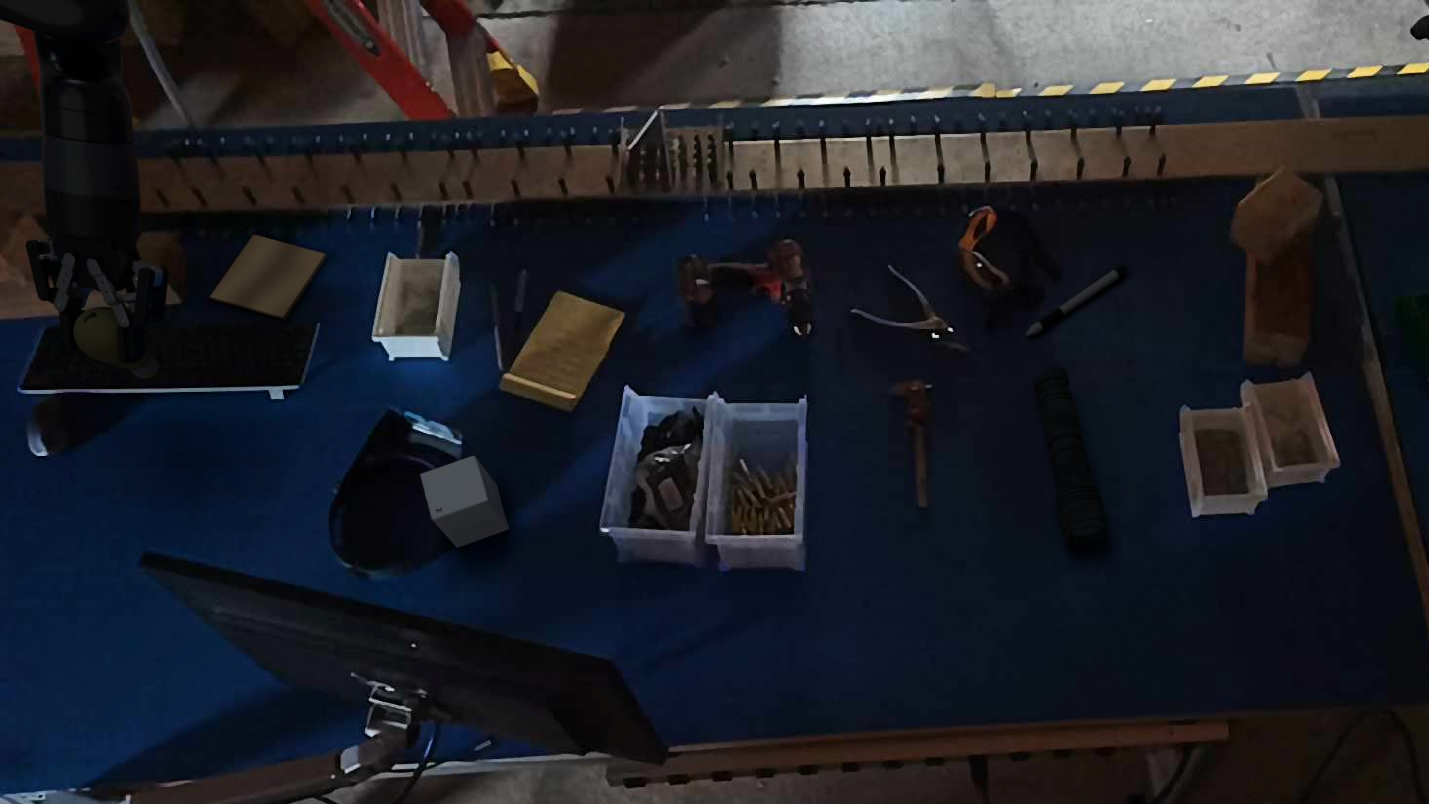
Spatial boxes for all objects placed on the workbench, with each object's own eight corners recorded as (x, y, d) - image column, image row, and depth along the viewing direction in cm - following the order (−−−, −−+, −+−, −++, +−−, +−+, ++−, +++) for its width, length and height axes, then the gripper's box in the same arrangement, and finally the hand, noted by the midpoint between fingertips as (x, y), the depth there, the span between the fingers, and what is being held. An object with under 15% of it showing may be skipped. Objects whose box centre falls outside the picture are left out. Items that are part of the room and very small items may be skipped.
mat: (212, 299, 137) (209, 296, 137) (256, 237, 142) (253, 234, 141) (285, 320, 136) (282, 317, 136) (327, 256, 140) (325, 253, 140)
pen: (1127, 274, 141) (1128, 268, 140) (1027, 343, 137) (1028, 336, 135) (1119, 268, 142) (1121, 261, 140) (1020, 335, 137) (1021, 329, 136)
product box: (511, 530, 125) (488, 501, 118) (456, 549, 124) (430, 521, 117) (498, 485, 127) (475, 453, 121) (444, 503, 126) (418, 473, 120)
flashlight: (1061, 548, 125) (1067, 529, 121) (1027, 390, 134) (1031, 367, 129) (1105, 542, 125) (1112, 523, 121) (1068, 385, 134) (1073, 362, 130)
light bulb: (142, 345, 123) (80, 289, 114) (188, 357, 122) (129, 302, 113) (113, 387, 121) (47, 333, 112) (159, 400, 120) (97, 347, 111)
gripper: (-11, 171, 106) (7, 345, 112) (126, 203, 105) (137, 377, 111) (60, 168, 113) (73, 332, 119) (189, 199, 112) (196, 363, 118)
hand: (104, 353), depth 115 cm, fingers closed on light bulb, 5 cm apart
